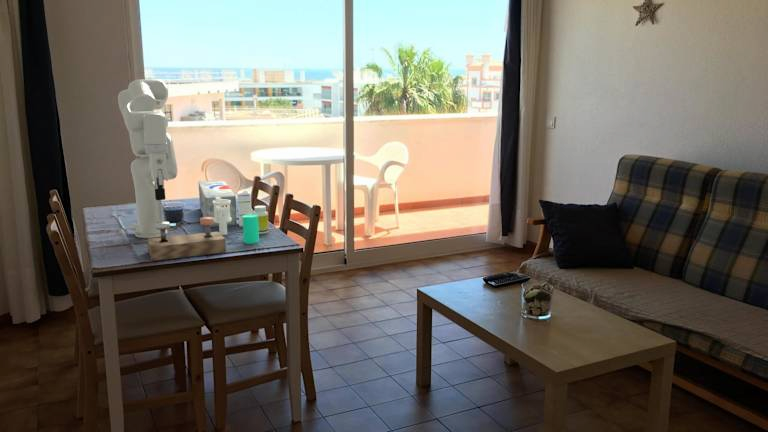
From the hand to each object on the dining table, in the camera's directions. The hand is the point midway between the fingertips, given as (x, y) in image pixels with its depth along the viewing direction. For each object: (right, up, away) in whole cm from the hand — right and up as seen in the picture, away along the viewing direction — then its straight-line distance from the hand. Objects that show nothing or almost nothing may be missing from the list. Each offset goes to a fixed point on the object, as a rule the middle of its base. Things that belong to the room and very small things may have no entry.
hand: (160, 199), depth 230 cm
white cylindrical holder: (+14, -13, +34) cm, 39 cm away
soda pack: (+4, -6, +65) cm, 65 cm away
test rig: (+7, -19, +8) cm, 22 cm away
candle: (+28, -16, +23) cm, 39 cm away
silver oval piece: (0, -15, +4) cm, 16 cm away
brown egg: (+14, -14, +11) cm, 22 cm away
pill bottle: (+29, -13, +36) cm, 48 cm away
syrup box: (+20, -10, +49) cm, 54 cm away
